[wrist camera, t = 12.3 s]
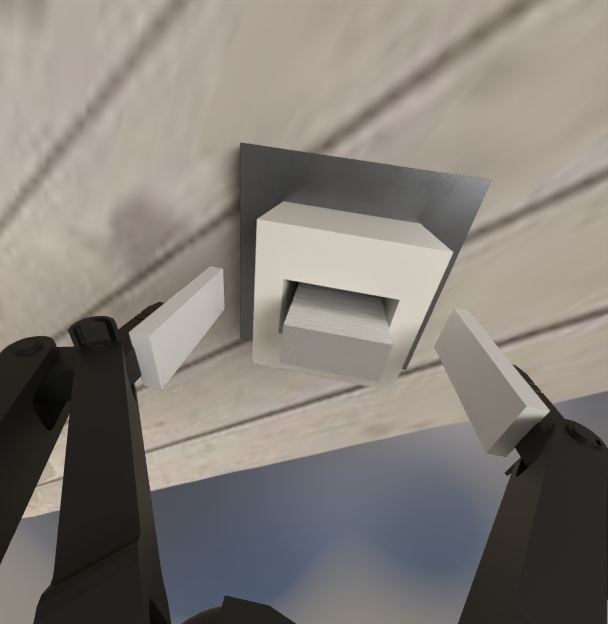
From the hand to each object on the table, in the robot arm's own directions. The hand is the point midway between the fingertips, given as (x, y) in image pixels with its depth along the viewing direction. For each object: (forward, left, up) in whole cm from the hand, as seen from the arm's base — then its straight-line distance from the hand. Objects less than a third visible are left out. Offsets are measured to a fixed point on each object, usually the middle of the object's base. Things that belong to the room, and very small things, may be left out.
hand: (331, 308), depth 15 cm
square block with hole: (0, 0, -5) cm, 5 cm away
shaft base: (0, 0, -7) cm, 7 cm away
